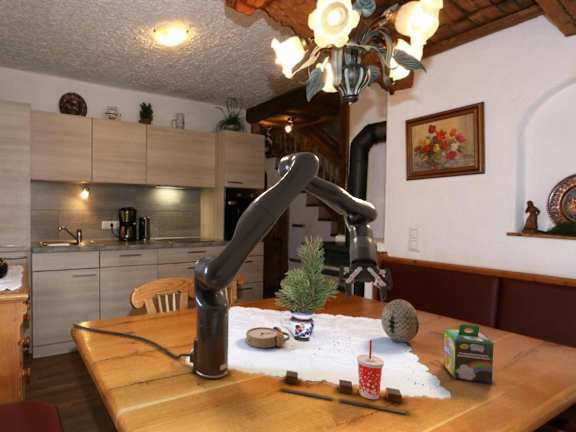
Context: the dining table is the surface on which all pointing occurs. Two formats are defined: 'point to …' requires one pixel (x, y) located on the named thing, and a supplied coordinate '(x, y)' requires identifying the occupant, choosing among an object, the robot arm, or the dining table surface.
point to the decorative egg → (400, 320)
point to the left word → (293, 378)
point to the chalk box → (468, 354)
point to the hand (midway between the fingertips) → (365, 298)
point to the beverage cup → (369, 375)
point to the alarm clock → (266, 337)
